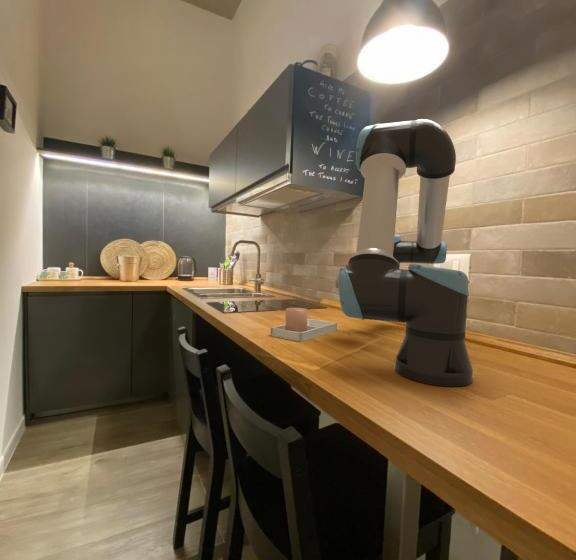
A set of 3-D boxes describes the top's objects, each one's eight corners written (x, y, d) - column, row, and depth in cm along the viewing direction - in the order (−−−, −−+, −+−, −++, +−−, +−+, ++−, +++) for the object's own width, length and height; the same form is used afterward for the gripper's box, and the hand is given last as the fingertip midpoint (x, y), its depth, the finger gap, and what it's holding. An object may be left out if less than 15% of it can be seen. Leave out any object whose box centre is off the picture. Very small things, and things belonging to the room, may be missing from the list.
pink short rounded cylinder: (311, 335, 99) (311, 309, 99) (298, 339, 94) (299, 311, 94) (293, 332, 103) (294, 306, 103) (280, 335, 98) (281, 309, 97)
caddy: (336, 332, 108) (337, 322, 108) (300, 344, 91) (300, 333, 91) (309, 327, 114) (309, 318, 114) (270, 338, 98) (270, 327, 97)
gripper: (407, 294, 104) (381, 301, 85) (349, 289, 115) (315, 294, 97) (408, 271, 103) (382, 272, 85) (350, 268, 115) (316, 269, 97)
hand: (346, 284), depth 91 cm, fingers closed on soda can, 7 cm apart
